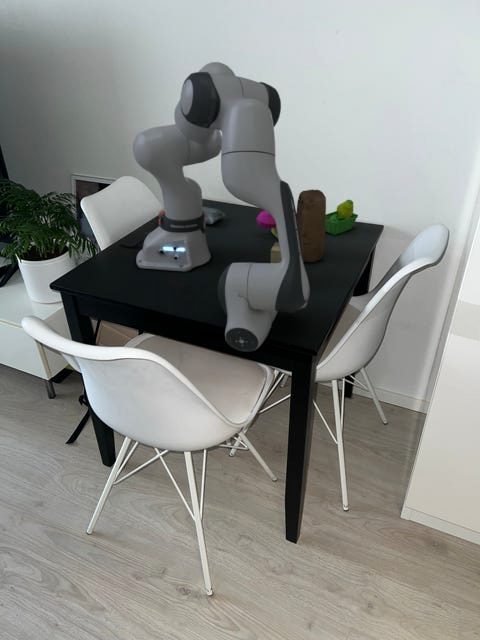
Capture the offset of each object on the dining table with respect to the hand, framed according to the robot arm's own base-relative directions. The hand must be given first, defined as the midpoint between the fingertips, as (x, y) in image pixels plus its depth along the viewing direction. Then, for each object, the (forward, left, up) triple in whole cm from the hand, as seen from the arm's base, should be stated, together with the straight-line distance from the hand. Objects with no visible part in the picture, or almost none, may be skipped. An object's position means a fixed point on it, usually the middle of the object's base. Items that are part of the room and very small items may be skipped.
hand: (273, 276), depth 128 cm
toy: (+5, +45, -8) cm, 46 cm away
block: (+12, +28, -8) cm, 32 cm away
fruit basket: (+25, +48, -8) cm, 55 cm away
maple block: (+3, +10, -8) cm, 13 cm away
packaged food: (-21, +57, -8) cm, 61 cm away
